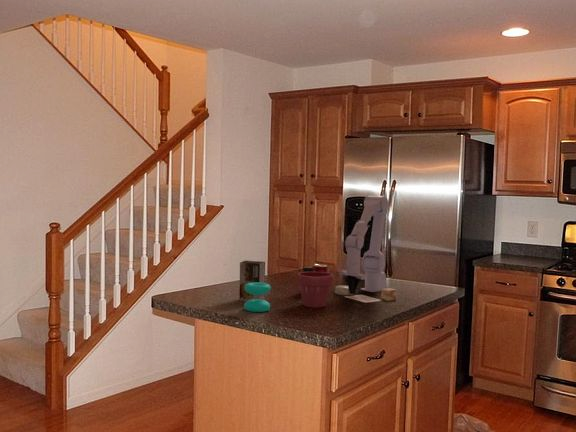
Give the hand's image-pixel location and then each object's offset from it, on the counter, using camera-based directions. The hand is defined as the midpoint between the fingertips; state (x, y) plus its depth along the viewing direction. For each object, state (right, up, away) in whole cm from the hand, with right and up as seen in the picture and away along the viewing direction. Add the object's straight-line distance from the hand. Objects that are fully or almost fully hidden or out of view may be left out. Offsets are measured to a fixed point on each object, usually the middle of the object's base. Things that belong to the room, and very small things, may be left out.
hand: (352, 293), depth 254 cm
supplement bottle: (-20, -1, +1) cm, 20 cm away
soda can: (-14, 0, +8) cm, 16 cm away
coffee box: (-43, -1, -16) cm, 46 cm away
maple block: (+15, -2, -6) cm, 16 cm away
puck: (-3, -1, +4) cm, 5 cm away
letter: (+4, -2, -6) cm, 7 cm away
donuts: (-40, -2, -33) cm, 52 cm away
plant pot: (-18, -2, -22) cm, 28 cm away
